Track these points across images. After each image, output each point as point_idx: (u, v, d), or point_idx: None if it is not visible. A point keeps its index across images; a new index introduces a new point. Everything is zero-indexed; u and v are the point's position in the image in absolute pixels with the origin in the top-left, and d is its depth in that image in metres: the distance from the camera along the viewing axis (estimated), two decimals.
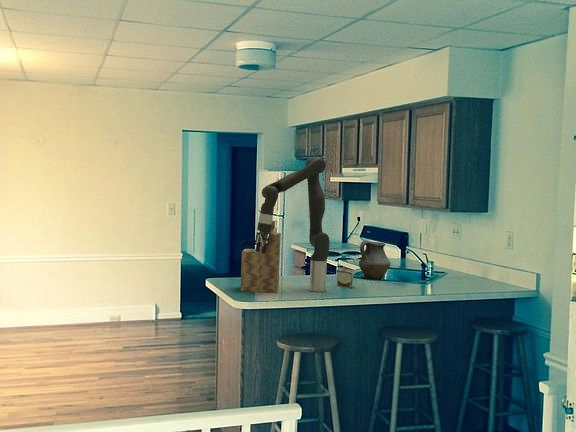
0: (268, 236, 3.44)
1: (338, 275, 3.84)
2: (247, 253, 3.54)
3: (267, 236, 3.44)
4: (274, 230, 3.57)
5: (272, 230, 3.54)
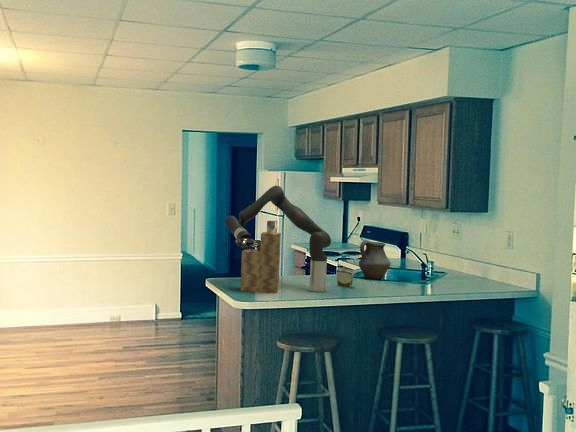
0: (236, 240, 3.60)
1: (338, 275, 3.84)
2: (247, 253, 3.54)
3: (236, 241, 3.61)
4: (274, 230, 3.57)
5: (272, 230, 3.54)
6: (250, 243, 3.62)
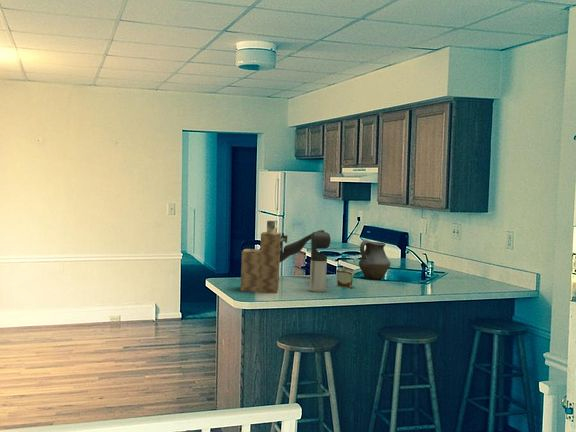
0: None
1: (338, 275, 3.84)
2: (247, 253, 3.54)
3: None
4: (274, 230, 3.57)
5: (272, 230, 3.54)
6: None
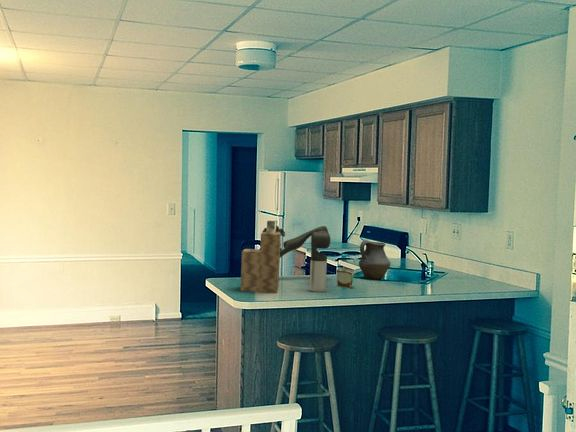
0: (262, 232, 3.77)
1: (338, 275, 3.84)
2: (247, 253, 3.54)
3: None
4: (274, 230, 3.57)
5: (272, 230, 3.54)
6: None
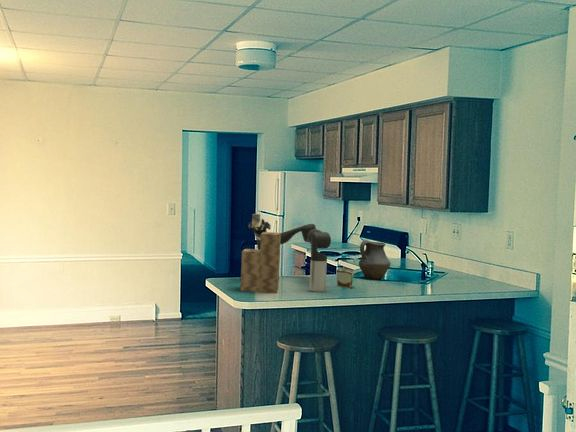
0: None
1: (338, 275, 3.84)
2: (247, 253, 3.54)
3: None
4: (259, 223, 3.73)
5: (257, 223, 3.71)
6: None
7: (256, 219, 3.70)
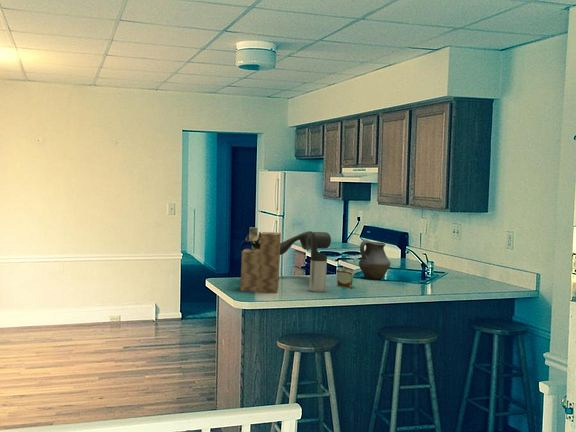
0: (246, 238, 3.82)
1: (338, 275, 3.84)
2: (247, 253, 3.54)
3: (246, 239, 3.82)
4: None
5: (254, 237, 3.59)
6: None
7: (253, 233, 3.59)
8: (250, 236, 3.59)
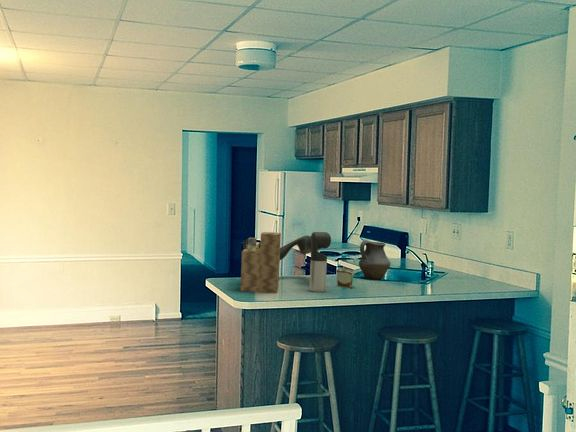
0: None
1: (338, 275, 3.84)
2: (247, 253, 3.54)
3: None
4: (255, 247, 3.58)
5: (253, 247, 3.56)
6: None
7: (252, 243, 3.56)
8: (249, 247, 3.56)
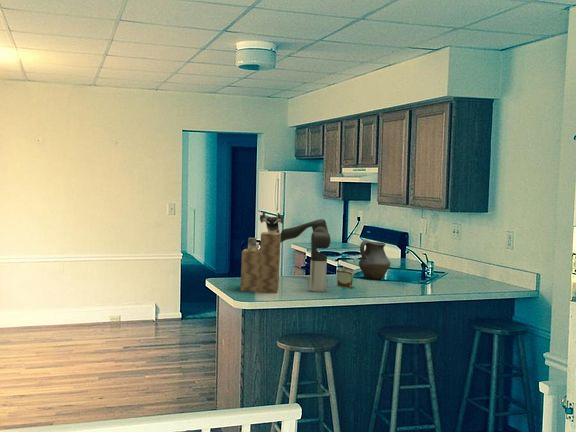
0: None
1: (338, 275, 3.84)
2: (247, 253, 3.54)
3: (260, 220, 3.97)
4: (255, 247, 3.58)
5: (253, 247, 3.56)
6: (273, 217, 3.94)
7: (252, 243, 3.56)
8: (249, 247, 3.56)
